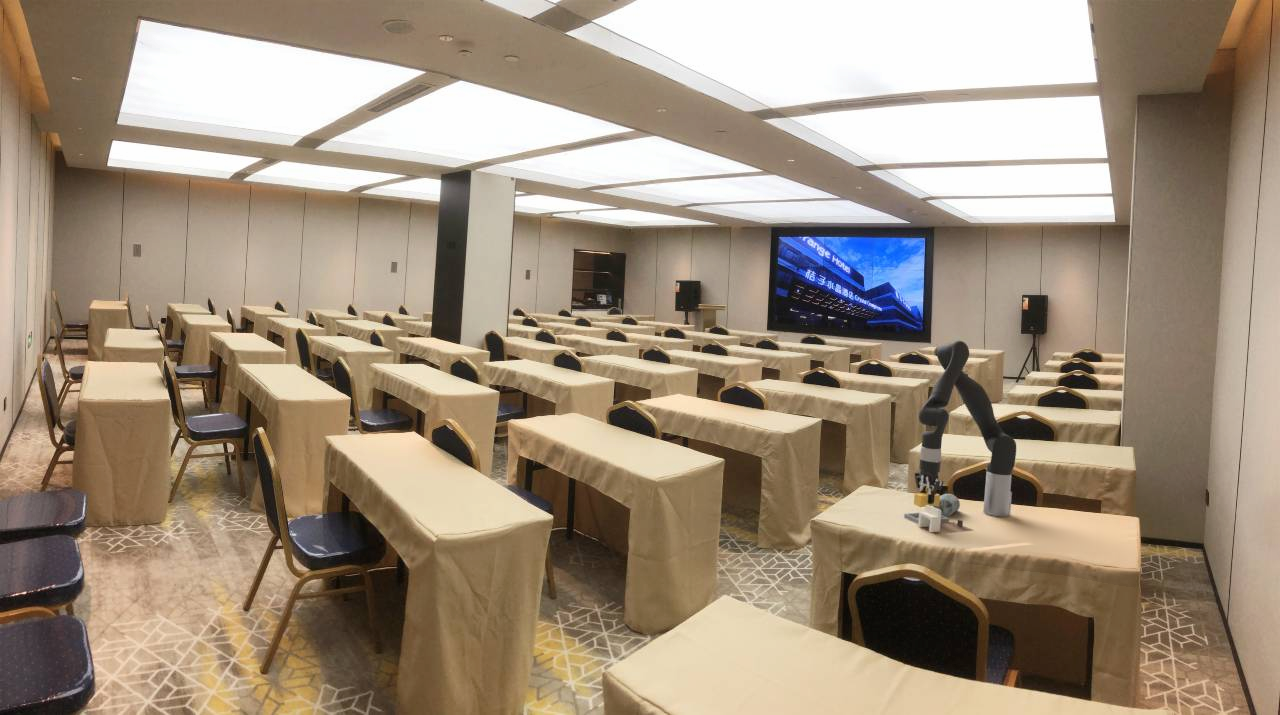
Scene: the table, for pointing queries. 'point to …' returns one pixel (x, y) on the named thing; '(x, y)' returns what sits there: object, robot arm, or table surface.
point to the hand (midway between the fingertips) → (926, 501)
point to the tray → (912, 516)
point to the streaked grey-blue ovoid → (948, 504)
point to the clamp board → (950, 527)
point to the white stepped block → (930, 514)
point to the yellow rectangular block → (925, 499)
